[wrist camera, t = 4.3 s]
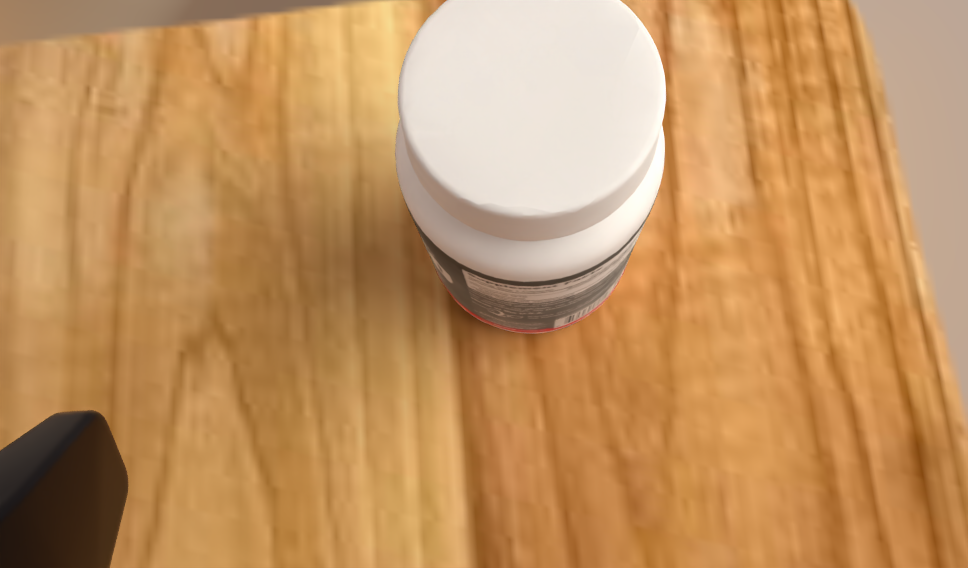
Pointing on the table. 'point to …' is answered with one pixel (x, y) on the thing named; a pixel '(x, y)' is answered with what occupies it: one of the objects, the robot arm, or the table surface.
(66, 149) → the table surface
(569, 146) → the pill bottle
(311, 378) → the table surface
